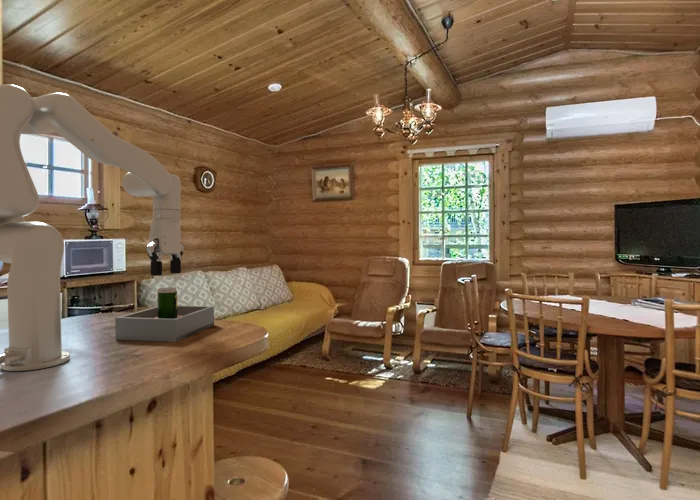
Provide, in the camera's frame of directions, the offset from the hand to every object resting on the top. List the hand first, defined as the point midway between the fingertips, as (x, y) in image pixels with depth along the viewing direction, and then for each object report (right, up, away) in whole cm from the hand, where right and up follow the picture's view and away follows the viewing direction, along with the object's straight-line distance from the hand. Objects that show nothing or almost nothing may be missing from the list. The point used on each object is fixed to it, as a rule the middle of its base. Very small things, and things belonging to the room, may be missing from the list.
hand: (166, 274), depth 128 cm
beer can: (0, -16, +1) cm, 16 cm away
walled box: (0, -17, +1) cm, 17 cm away
